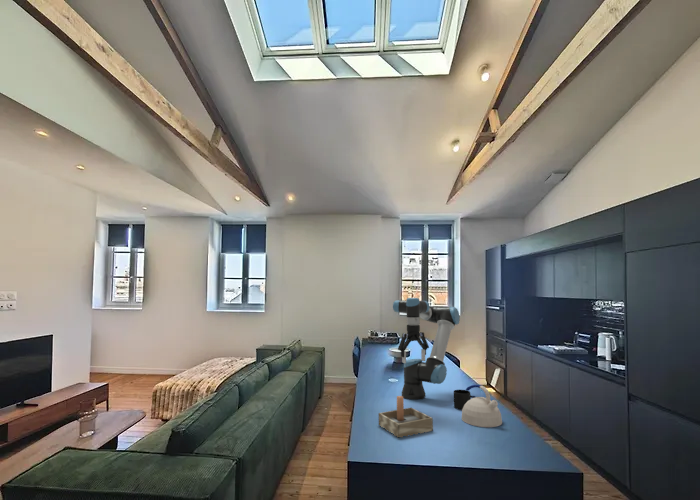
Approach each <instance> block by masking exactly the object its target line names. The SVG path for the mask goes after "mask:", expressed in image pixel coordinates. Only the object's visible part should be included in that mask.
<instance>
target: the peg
mask: <svg viewBox="0 0 700 500" xmlns="http://www.w3.org/2000/svg"><path fill="white" fill-rule="evenodd" d="M404 399H405V398H403V396H402V395H398V396H396V410H397V420H398V421H403V420H404V409H405V408H404V405H405V404H404V403H405V402H404Z"/></svg>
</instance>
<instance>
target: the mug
mask: <svg viewBox="0 0 700 500" xmlns="http://www.w3.org/2000/svg"><path fill="white" fill-rule="evenodd" d="M472 396H473V395H471V391H470V390H469V391H468V390H466V389H454V390H453V407H454V409H456V410H459V411H460V410H461V411H462V409H463V407H464V405H465V404H466V402H467V401H469V400H470V399H472ZM473 398H475V397H473Z"/></svg>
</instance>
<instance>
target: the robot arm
mask: <svg viewBox="0 0 700 500" xmlns="http://www.w3.org/2000/svg"><path fill="white" fill-rule="evenodd" d="M392 310H393V311H394V312H396V313H403V314H406V332H407V333H405V332H404V333H402V337H401V340H400V342H399V345H398V348H397V350H398V351H400V357H401V363H403V386H402V391H401V396H403V398H404V399H406V400H410V401H411V400H413V401H417V400H423V399H425V398H426V391H425V388H424V385H423V382H424V383H430V384H437V385H440V384H442V383H444V381H445V380H446V377H447V372H448V370H447V367H446V364H445V362H444V360H445V356H446V351H447V348H448V343H449V341H450V336H451V331H452V330H454V329H455V327H456V326H458V325H459V323H460V313H459V309H458V308H457V307H455V306H430V304H429V302H428V301H426V300H420V299H419V298H418V297H407V298H406V299H405V300H403V299H399V300H398V299H396V300H394V301H393V303H392ZM420 319H421V320H423V321H427V322H429V323H433V324H437V330H436V333H435V336H434V341H433V343H432V348H431V351H430V354H429V356H428V357H427V358H426V356H427V350H428V349H429V348H430V345H429V344H428V342H427V339H426V337H425V332H421V326H420V323H421V322H420ZM411 342H417V343H418V344H419V346H420V347H421V349H420V350H421V353H420V355H421V356H420V357H421V358H410V359H407V351H406V349H407V348H408V347H409V344H410V343H411Z"/></svg>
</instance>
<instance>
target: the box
mask: <svg viewBox="0 0 700 500" xmlns="http://www.w3.org/2000/svg"><path fill="white" fill-rule="evenodd" d="M433 421H434V419H433V417H431V416H429V415H428V414H425V413H424V412H422V411H419V410H417V409H416V408H413V407H407V408H404V420H403V421H398V420H397V409H395V410H389V411H384V412H378V426H379V425H380V426H381V428H382V427H383V428H385V429H386V430H385V429H384V430H385V431H387V430H388V431H389V432H388V431H387V432H388V433H390V432H391V433H393V434H394V435H393V434H392V435H393V436H395V437H396V436H397V437H396V438H398V437H401V438H404V437H403V436H406V437H409V436H408V435H410V436H414V435H413V434H415V435H419V434H418V433H420V434H425V433H429V432H432V431H433V432H434V422H433ZM380 426H379V427H380ZM383 428H382V429H383ZM424 432H425V433H424ZM391 433H390V434H391Z"/></svg>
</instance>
